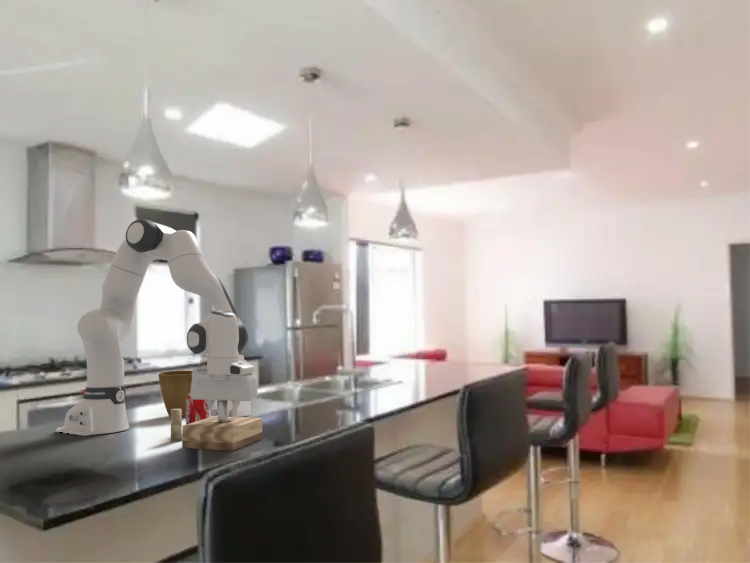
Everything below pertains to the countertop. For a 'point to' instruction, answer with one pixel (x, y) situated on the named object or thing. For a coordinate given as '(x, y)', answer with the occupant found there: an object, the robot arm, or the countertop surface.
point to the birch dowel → (176, 425)
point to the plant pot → (175, 389)
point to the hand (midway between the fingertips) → (223, 416)
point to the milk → (244, 406)
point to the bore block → (222, 433)
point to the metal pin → (222, 411)
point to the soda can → (196, 410)
